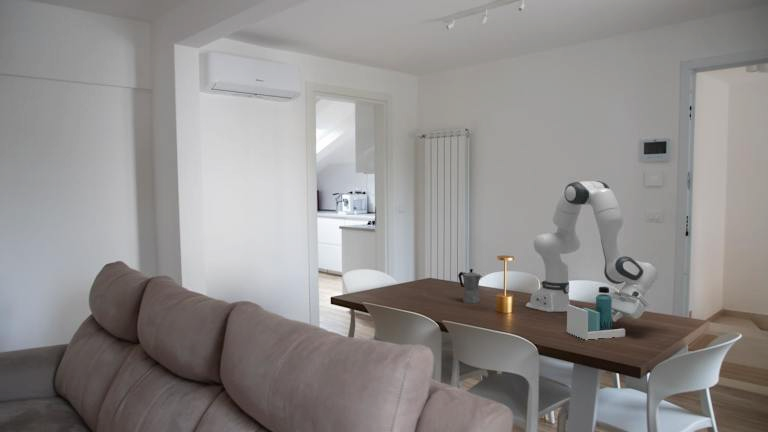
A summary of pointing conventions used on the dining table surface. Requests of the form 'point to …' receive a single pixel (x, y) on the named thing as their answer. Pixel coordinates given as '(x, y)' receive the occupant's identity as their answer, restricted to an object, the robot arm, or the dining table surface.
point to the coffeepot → (470, 286)
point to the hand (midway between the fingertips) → (611, 320)
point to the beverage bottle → (604, 309)
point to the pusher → (593, 320)
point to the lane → (586, 325)
